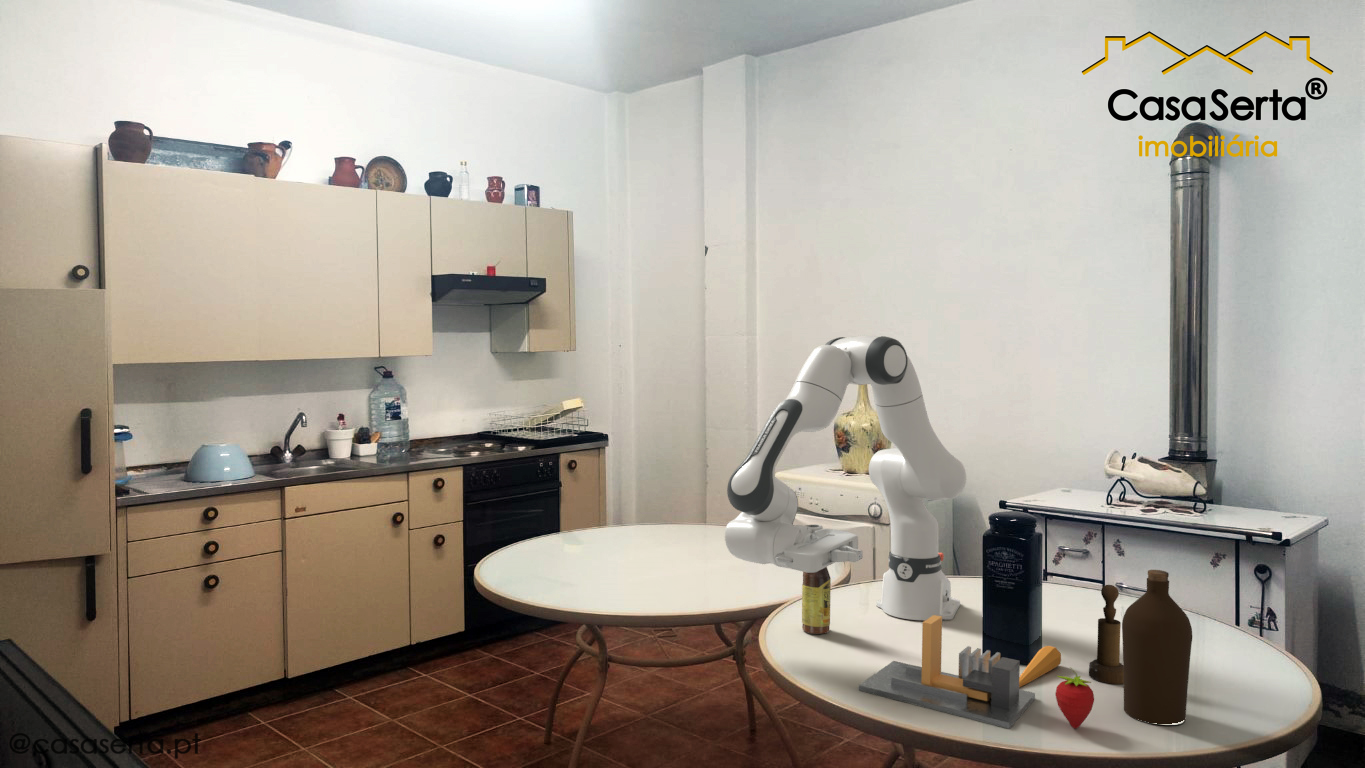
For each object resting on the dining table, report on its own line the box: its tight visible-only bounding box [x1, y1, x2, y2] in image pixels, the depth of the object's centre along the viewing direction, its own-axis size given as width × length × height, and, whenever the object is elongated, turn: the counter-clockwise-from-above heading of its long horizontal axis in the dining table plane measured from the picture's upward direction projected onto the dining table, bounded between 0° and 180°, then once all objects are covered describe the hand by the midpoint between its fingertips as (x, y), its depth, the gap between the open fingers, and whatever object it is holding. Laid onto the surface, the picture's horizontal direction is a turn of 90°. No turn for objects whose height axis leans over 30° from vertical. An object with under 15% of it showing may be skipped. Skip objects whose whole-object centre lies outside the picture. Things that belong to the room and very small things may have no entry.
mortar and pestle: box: [1088, 584, 1124, 685], centre depth 167 cm, size 7×6×18 cm
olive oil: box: [1121, 569, 1193, 724], centre depth 150 cm, size 11×11×25 cm
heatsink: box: [858, 645, 1036, 729], centre depth 159 cm, size 16×27×8 cm, turn 54°
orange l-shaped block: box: [921, 615, 992, 701], centre depth 157 cm, size 6×12×12 cm, turn 54°
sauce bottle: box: [801, 566, 832, 635], centre depth 194 cm, size 7×6×20 cm
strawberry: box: [1054, 666, 1095, 729], centre depth 145 cm, size 6×8×10 cm
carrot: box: [1019, 645, 1062, 688], centre depth 168 cm, size 20×4×4 cm, turn 136°
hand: (859, 556), depth 169 cm, fingers closed
